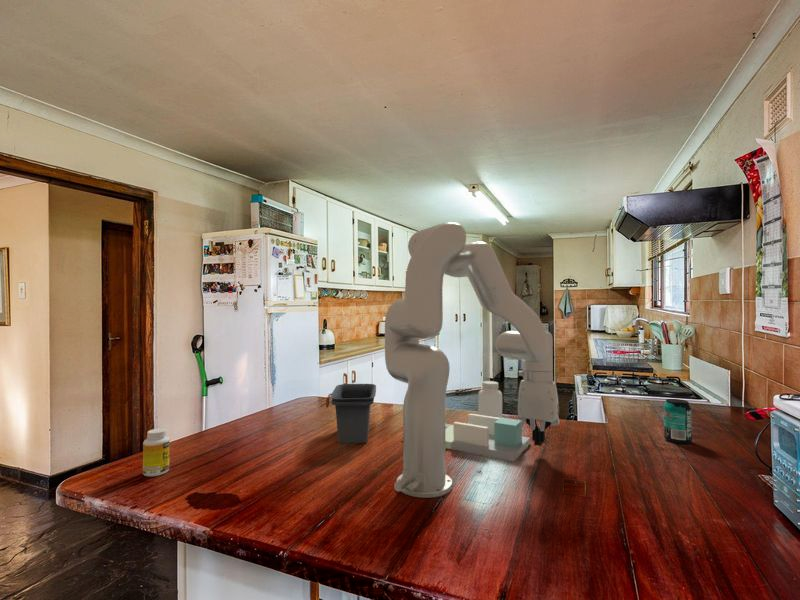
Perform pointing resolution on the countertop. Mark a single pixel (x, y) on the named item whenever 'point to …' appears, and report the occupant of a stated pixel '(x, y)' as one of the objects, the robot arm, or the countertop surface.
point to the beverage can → (677, 421)
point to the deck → (480, 438)
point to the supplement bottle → (156, 453)
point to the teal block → (508, 432)
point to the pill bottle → (490, 400)
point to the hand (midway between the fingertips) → (538, 444)
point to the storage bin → (352, 411)
